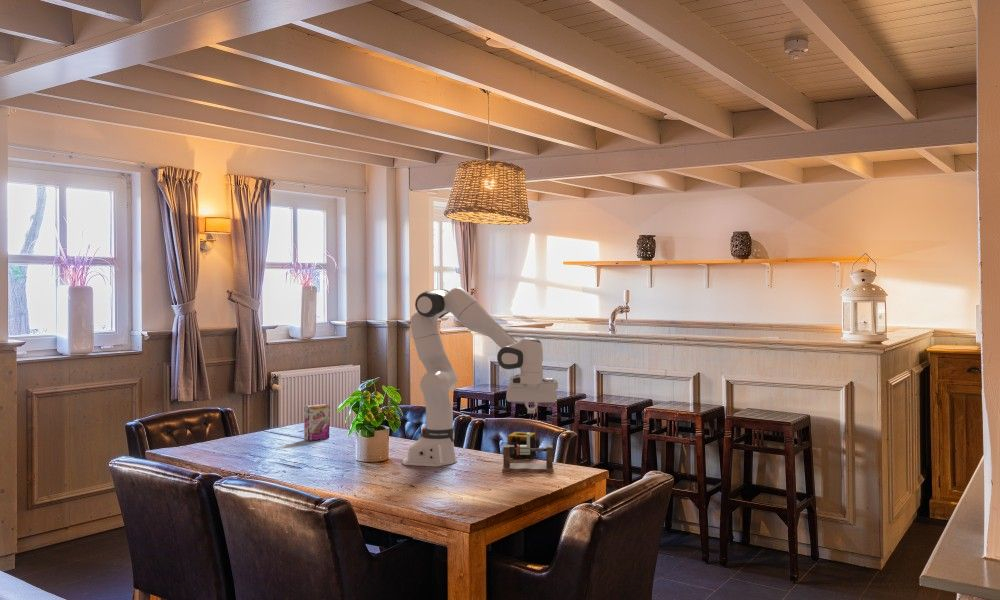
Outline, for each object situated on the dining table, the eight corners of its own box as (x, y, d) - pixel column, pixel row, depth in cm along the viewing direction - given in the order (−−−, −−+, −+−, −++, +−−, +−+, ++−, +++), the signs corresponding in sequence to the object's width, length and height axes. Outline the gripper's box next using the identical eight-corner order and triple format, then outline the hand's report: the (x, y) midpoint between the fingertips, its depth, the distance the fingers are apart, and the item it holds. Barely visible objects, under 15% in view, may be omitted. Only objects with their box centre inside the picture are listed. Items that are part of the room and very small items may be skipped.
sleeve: (519, 454, 316) (519, 433, 315) (520, 452, 319) (519, 432, 319) (529, 454, 315) (529, 434, 315) (530, 452, 319) (529, 432, 318)
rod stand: (502, 472, 313) (502, 447, 313) (503, 466, 323) (503, 442, 322) (553, 472, 312) (553, 447, 311) (553, 467, 322) (553, 442, 321)
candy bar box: (308, 441, 376) (308, 407, 376) (303, 440, 380) (303, 405, 380) (330, 438, 383) (329, 404, 383) (325, 437, 387) (325, 403, 387)
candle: (530, 460, 334) (529, 436, 334) (507, 459, 337) (506, 435, 337) (536, 455, 344) (536, 432, 343) (514, 454, 347) (514, 431, 347)
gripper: (557, 377, 319) (557, 412, 319) (506, 377, 320) (506, 411, 320) (558, 379, 313) (557, 415, 313) (505, 379, 314) (505, 414, 314)
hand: (531, 413), depth 317 cm, fingers closed
